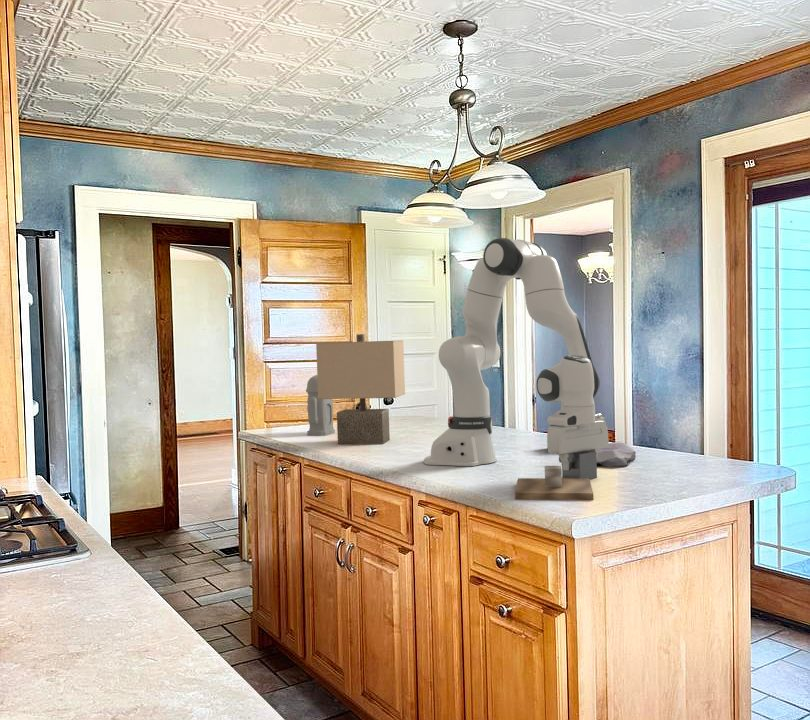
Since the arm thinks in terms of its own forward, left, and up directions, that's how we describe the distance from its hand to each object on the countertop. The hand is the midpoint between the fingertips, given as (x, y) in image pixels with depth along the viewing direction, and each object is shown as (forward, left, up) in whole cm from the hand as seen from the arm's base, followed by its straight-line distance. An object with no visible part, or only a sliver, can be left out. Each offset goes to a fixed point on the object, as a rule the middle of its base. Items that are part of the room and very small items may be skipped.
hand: (579, 467), depth 198 cm
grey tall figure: (-102, +95, -3) cm, 139 cm away
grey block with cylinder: (-1, +1, -3) cm, 3 cm away
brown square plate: (-7, -18, -3) cm, 20 cm away
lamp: (-77, +70, -3) cm, 104 cm away
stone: (+9, +26, -3) cm, 28 cm away
